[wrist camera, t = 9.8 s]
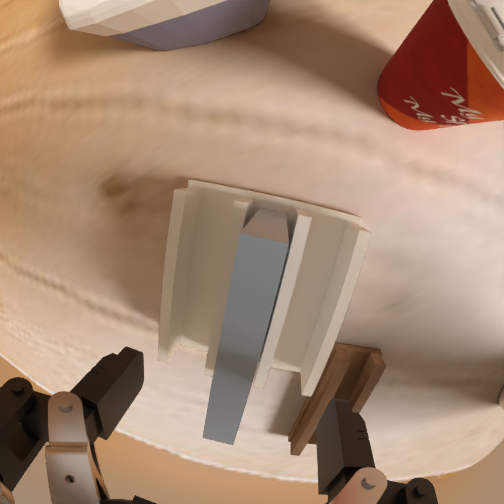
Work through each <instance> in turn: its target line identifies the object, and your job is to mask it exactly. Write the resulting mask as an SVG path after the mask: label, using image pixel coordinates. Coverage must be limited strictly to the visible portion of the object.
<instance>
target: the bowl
mask: <svg viewBox="0 0 504 504" xmlns="http://www.w3.org/2000/svg"><path fill="white" fill-rule="evenodd" d="M269 2H270V0H59V8H60V12H61V14H62V16H63V18H64V21H65V23H66V25H67V27H68V28H69V29H70V30H75V31H81V32H86V33H91V34H96V35H101V36H107V37H112V38H116V39H119V40H123V41H127V42H130V43H134V44H137V45H141V46H144V47H147V48H151V49H154V50H158V51H167V50H173V49H178V48H184V47H190V46H195V45H199V44H204V43H208V42H211V41H215V40H218V39H221V38H224V37H227V36H229V35H232V34H235V33H237V32H240V31H243V30H246V29H248V28H251V27H253V26H255V25H257V24H259V23H260V22H261V21H263V19H264V17H265V14H266V11H267V8H268V5H269Z"/></svg>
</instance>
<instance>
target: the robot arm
mask: <svg viewBox="0 0 504 504" xmlns="http://www.w3.org/2000/svg"><path fill="white" fill-rule="evenodd" d="M143 382H144V357H143V353H142V352H140V351H137V350H135V349H132V348H129V347H125V348H124V349H123V350H122V351H121V352H120V353H119V354H118V355H116V354H114V353H112V354H110V355H107V356H105V357H103V358H102V359H101V360H100V361H99V362H98V363H97V364H96V366H94V367H93V368H92V369H91V371H89V372H88V373H87V374H86V375H85V376H84V378H83V379H82V380H81V381H80V382H79V383H78V384H77V385H76V386H75V387H74V388H73V389H72V390H71V391H70V392H66V391H63V392H58V393H55V394H54V395H52V396H50V395H46V394H43V393H39V392H36V391H34V390H33V387H32V385H31V383H30V382H29V381H28V380H26V379H24V378H20V377H17V378H12V379H10V380H8V381H7V382H6V383H5V384H4V385H3V386H2V387H1V388H0V504H15V502H14V497H13V494H12V491H13V490H14V488H15V486H16V485H17V483H18V482H19V480H20V479H21V477H22V476H23V474H24V473H25V471H26V470H27V469H28V467H29V466H30V464H31V463H32V461H33V460H34V458H35V457H36V456H37V454H38V453H39V451H40V450H41V448H42V447H43V446H44V444H45V443H46V442H49V446H46V447H45V457H46V467H47V476H48V483H49V489H50V495H51V501H52V504H156V503H153V502H151V501H148V500H145V499H143V498H140V497H138V496H134V498H133V500H125V499H110V497H109V494H108V491H107V488H106V486H105V483H104V480H103V477H102V473H101V469H100V465H99V461H98V456H97V452H96V447H95V443H94V442H95V440H96V439H97V437H98V436H99V437H101V438H103V439H105V440H107V439H108V438H109V436H110V435H111V433H112V432H113V430H114V429H115V427H116V426H117V424H118V423H119V421H120V420H121V418H122V417H123V415H124V414H125V412H126V411H127V409H128V408H129V406H130V405H131V404H132V402H133V401H134V399H135V398H136V396H137V395H138V393H139V392H140V390H141V388H142V386H143ZM499 404H500V406H501V407H502V408H503V410H504V388H503V389H502V392H501V394H500V397H499ZM368 439H369V437H368V433H367V429H366V425H365V421H364V420H363V418H362V417H361V416H360V414H359V413H357V412H352V407H351V403H350V401H349V400H342V399H331V400H330V401H329V403H328V405H327V407H326V409H325V411H324V413H323V415H322V416H321V418H320V420H319V422H318V425H317V429H316V441H317V461H318V487H319V488H318V489H319V494H323V495H328V501H327V502H326V503H325V504H438V502H437V497H436V493H435V489H434V486H433V485H432V483H431V482H430V481H428V480H427V479H424V478H414V479H412V480H411V481H409V482H408V483H407V484H404V483H398V482H393V481H389V480H387V479H386V476H385V475H384V474H383V473H382V472H381V471H380V470H378V469H376V468H375V464H374V459H373V455H372V450H371V446H370V442H369V440H368Z"/></svg>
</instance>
